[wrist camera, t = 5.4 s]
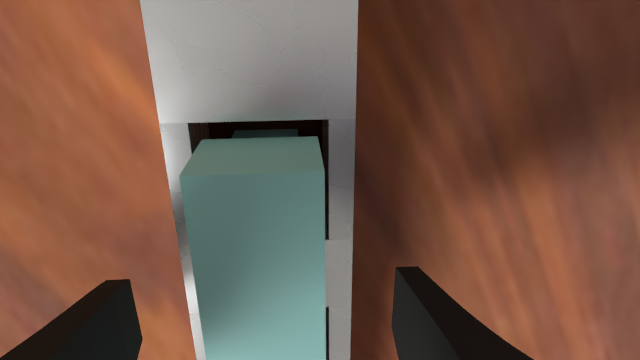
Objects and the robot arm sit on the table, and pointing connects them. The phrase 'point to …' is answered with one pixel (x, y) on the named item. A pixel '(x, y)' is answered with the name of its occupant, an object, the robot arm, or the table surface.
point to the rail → (262, 107)
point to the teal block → (258, 244)
